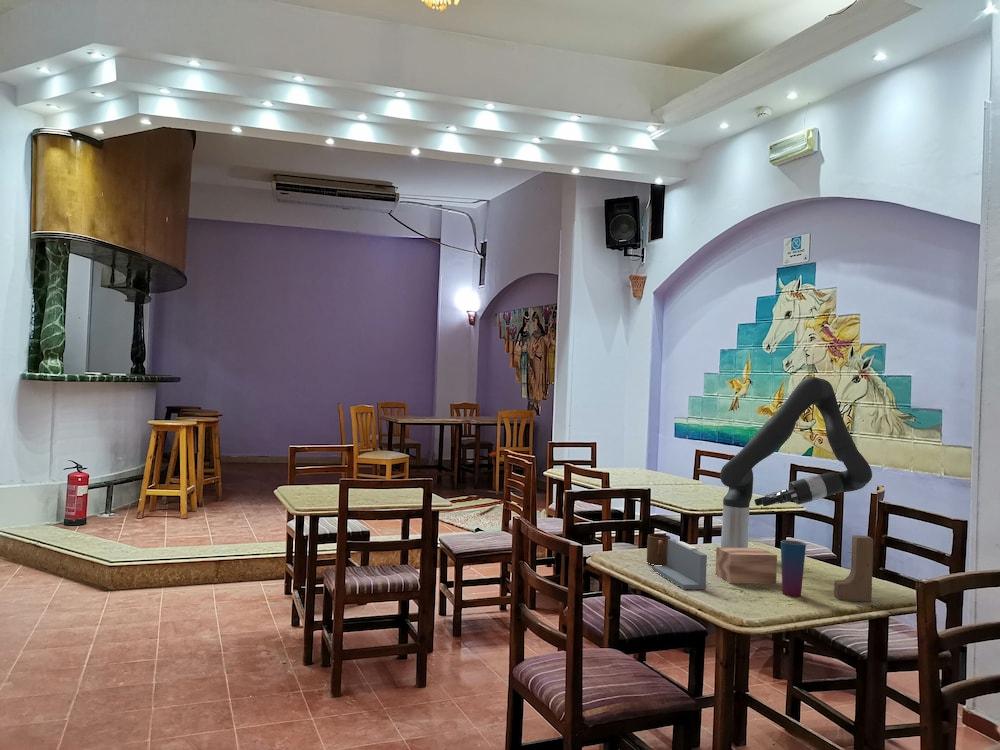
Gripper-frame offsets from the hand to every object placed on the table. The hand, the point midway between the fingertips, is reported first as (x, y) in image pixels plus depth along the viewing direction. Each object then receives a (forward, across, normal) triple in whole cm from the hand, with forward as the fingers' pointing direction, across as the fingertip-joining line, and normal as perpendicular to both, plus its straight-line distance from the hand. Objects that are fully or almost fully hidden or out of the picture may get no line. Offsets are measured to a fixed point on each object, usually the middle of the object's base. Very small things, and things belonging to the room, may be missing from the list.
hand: (758, 503), depth 233 cm
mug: (+36, -7, +12) cm, 38 cm away
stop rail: (+34, +11, +15) cm, 38 cm away
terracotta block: (+13, +5, +21) cm, 25 cm away
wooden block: (-11, +21, +31) cm, 39 cm away
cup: (+5, +20, +26) cm, 33 cm away
